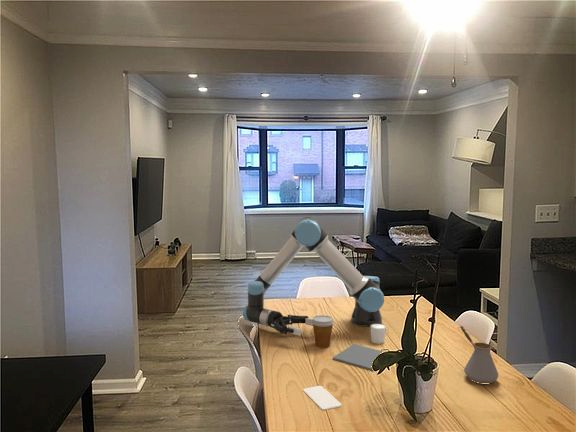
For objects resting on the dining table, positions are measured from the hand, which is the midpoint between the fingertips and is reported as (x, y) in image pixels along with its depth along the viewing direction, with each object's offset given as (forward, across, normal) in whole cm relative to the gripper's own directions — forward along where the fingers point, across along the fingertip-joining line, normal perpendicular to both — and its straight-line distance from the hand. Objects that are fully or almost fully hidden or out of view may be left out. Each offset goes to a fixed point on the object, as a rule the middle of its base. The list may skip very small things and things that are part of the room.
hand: (309, 328), depth 200 cm
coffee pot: (+66, -11, -7) cm, 67 cm away
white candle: (+23, -20, -7) cm, 31 cm away
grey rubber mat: (+26, 0, -6) cm, 27 cm away
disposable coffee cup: (+7, 0, -7) cm, 9 cm away
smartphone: (+31, +38, -7) cm, 50 cm away
